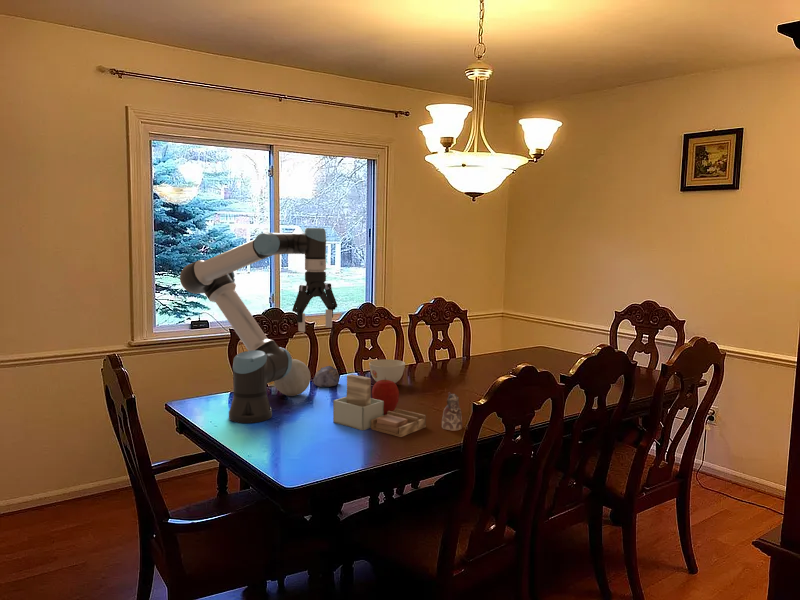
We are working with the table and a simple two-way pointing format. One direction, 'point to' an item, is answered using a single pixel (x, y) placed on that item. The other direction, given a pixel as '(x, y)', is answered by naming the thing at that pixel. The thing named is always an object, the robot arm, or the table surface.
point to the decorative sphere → (294, 379)
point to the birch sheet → (358, 390)
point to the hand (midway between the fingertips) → (315, 329)
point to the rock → (326, 377)
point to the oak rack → (414, 421)
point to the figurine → (452, 414)
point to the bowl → (387, 369)
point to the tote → (356, 413)
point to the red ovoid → (386, 394)
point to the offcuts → (390, 423)
